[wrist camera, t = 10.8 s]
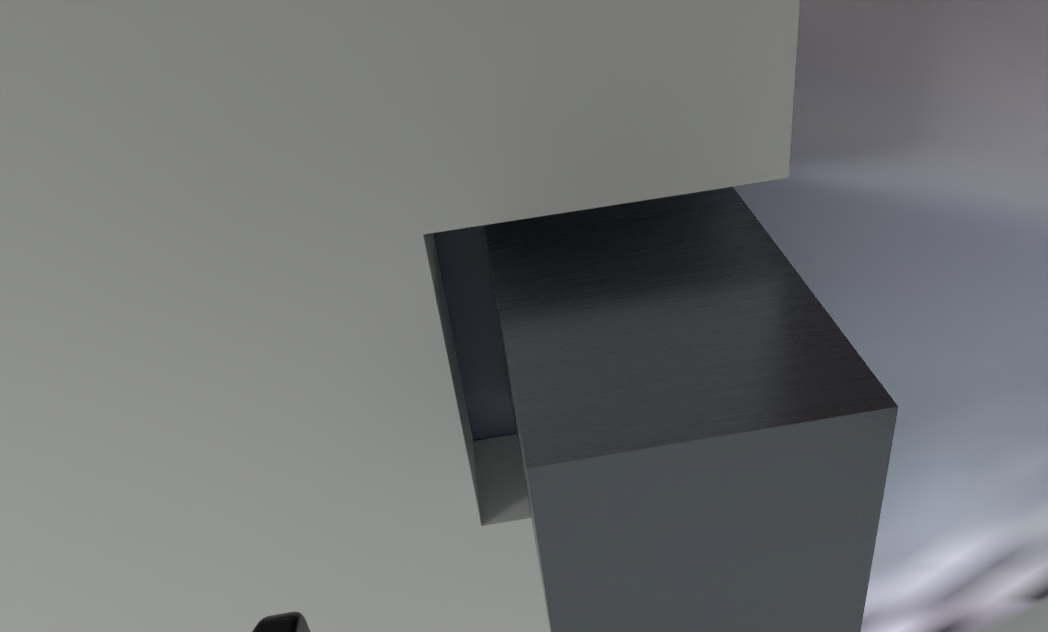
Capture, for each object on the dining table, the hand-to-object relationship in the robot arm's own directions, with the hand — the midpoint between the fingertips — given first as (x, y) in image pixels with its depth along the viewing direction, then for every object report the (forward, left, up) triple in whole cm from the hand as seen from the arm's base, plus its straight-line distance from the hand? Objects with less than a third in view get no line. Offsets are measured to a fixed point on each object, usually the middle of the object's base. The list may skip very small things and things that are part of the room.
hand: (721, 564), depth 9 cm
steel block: (0, 0, -6) cm, 6 cm away
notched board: (-5, 0, -6) cm, 8 cm away
